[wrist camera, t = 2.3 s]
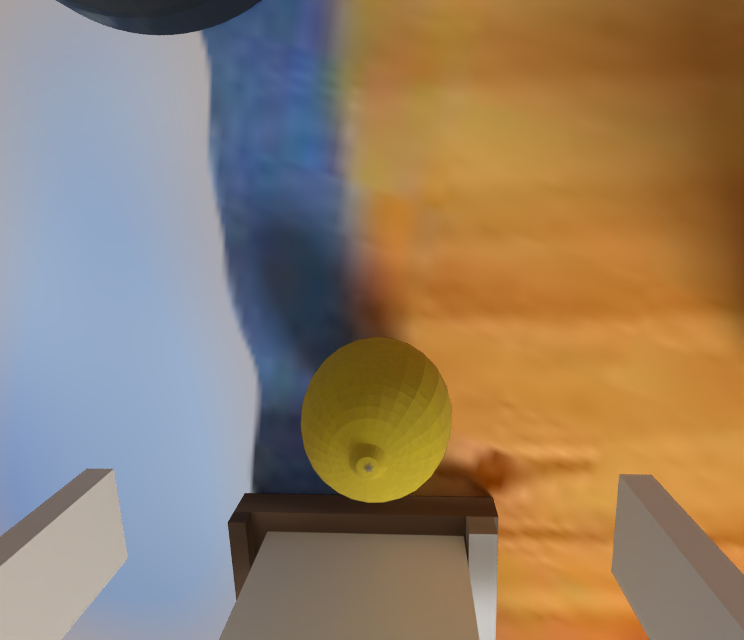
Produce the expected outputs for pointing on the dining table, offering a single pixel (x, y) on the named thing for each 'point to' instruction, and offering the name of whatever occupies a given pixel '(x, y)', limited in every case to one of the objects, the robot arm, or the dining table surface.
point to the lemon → (376, 419)
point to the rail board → (376, 531)
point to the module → (356, 589)
